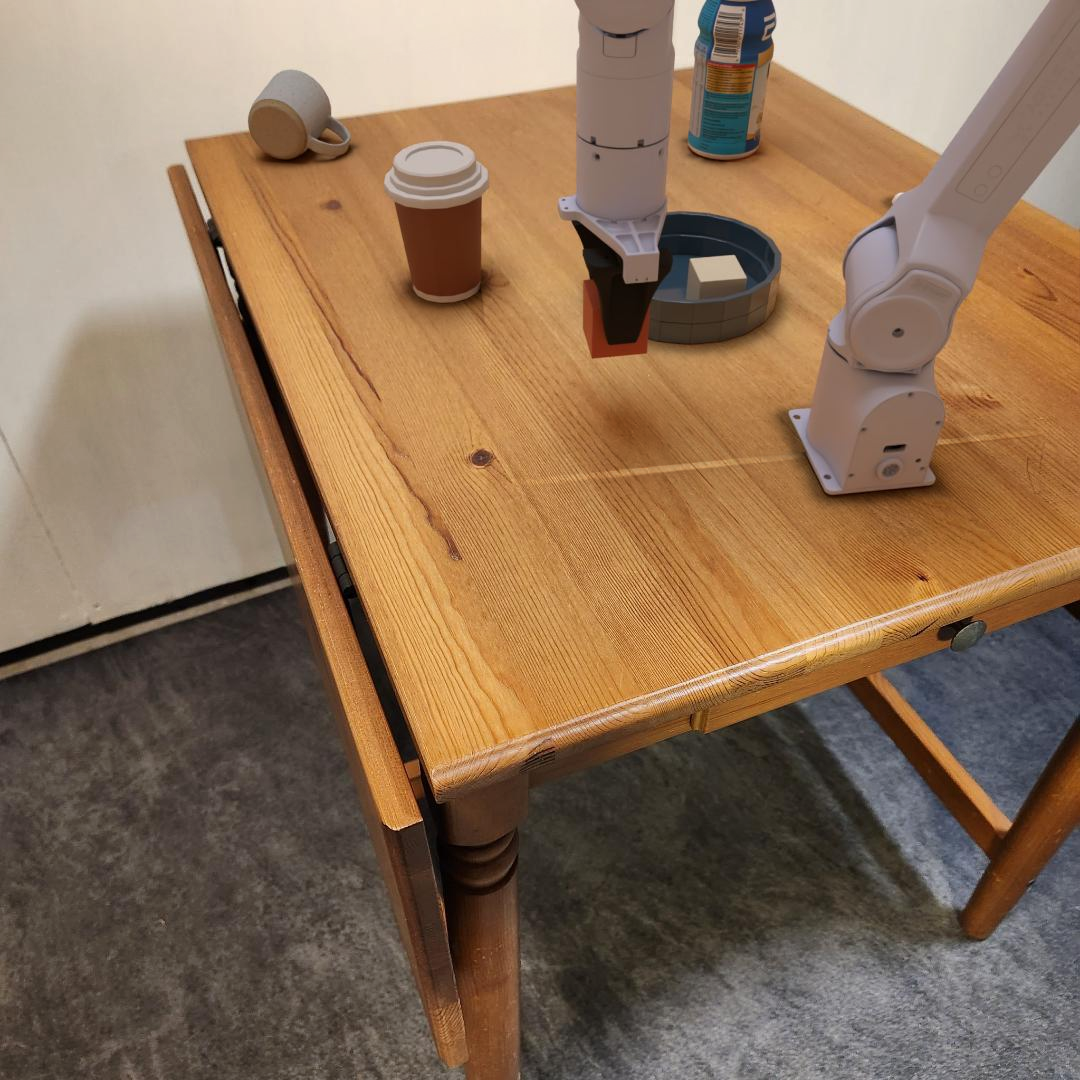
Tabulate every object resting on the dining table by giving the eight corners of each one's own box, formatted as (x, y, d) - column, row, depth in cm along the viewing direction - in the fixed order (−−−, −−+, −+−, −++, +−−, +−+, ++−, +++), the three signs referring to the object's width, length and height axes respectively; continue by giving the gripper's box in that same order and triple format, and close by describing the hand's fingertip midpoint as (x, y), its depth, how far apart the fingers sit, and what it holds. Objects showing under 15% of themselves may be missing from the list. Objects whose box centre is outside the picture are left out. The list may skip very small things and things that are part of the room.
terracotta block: (647, 353, 67) (650, 304, 64) (591, 359, 67) (592, 309, 64) (636, 323, 70) (638, 274, 67) (582, 328, 70) (583, 279, 67)
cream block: (741, 319, 82) (747, 277, 79) (695, 323, 81) (700, 281, 79) (729, 295, 84) (734, 254, 82) (685, 299, 84) (689, 258, 81)
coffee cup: (459, 320, 84) (447, 189, 75) (378, 294, 87) (357, 166, 79) (514, 274, 89) (508, 147, 81) (436, 252, 93) (422, 128, 84)
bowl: (797, 341, 80) (806, 293, 77) (609, 357, 79) (610, 310, 76) (745, 249, 92) (751, 205, 88) (580, 262, 90) (581, 218, 87)
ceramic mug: (251, 161, 109) (235, 92, 103) (277, 133, 114) (263, 66, 109) (339, 167, 107) (328, 98, 102) (360, 138, 113) (351, 71, 108)
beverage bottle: (671, 142, 110) (686, -56, 96) (730, 127, 113) (753, -68, 99) (714, 168, 105) (736, -37, 91) (775, 152, 107) (806, -50, 93)
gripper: (542, 92, 63) (546, 277, 72) (576, 186, 52) (575, 388, 62) (647, 84, 63) (637, 269, 73) (700, 176, 53) (681, 377, 62)
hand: (615, 323), depth 67 cm, fingers closed on terracotta block, 4 cm apart
